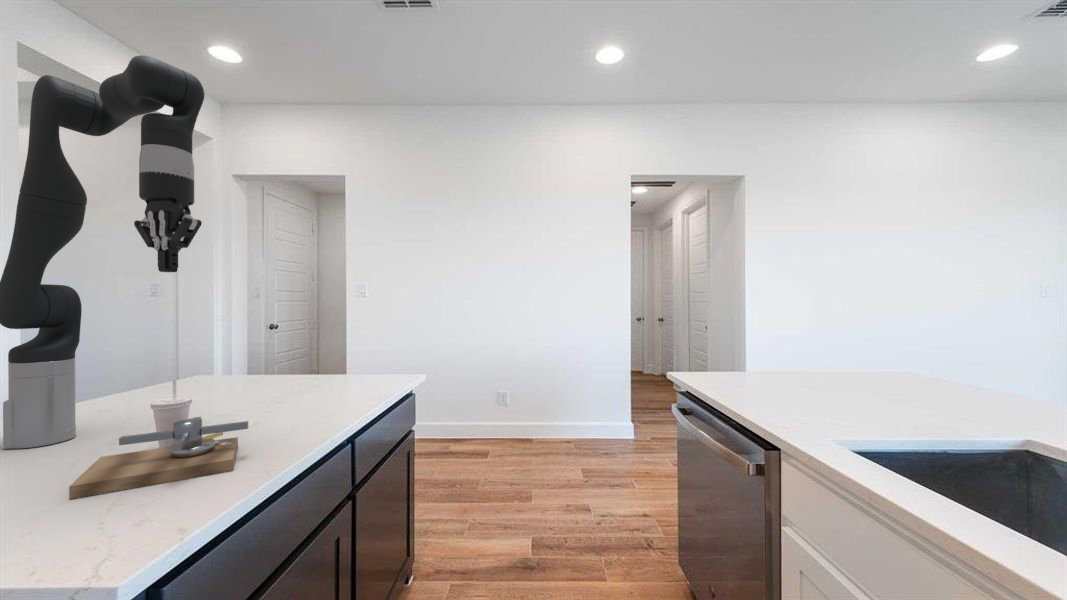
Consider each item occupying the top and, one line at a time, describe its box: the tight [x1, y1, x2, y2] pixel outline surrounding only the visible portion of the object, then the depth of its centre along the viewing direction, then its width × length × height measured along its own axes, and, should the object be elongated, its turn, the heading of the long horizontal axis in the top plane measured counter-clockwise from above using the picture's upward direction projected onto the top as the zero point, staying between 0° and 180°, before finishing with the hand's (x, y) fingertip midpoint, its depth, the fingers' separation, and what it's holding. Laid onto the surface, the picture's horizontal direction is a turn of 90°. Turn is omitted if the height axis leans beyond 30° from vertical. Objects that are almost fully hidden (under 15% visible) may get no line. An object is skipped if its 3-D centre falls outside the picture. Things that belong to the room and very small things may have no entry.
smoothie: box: [150, 378, 193, 449], centre depth 85 cm, size 6×6×14 cm
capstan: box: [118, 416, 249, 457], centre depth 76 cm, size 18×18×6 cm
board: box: [68, 436, 239, 500], centre depth 74 cm, size 20×14×2 cm
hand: (167, 271), depth 76 cm, fingers closed
